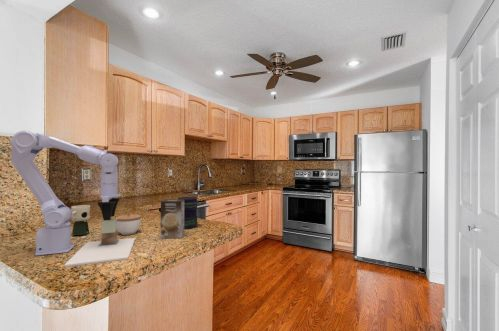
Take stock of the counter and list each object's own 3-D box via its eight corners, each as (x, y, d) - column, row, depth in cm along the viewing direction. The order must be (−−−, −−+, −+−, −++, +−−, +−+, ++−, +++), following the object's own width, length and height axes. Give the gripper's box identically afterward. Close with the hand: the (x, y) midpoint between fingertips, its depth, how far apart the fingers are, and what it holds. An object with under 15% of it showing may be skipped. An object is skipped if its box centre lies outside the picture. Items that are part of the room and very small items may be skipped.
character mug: (79, 238, 102) (79, 208, 102) (63, 238, 102) (63, 208, 102) (96, 231, 113) (96, 204, 113) (81, 231, 113) (81, 204, 113)
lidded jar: (131, 229, 117) (131, 210, 117) (146, 231, 112) (146, 212, 112) (109, 234, 108) (109, 214, 108) (125, 237, 103) (125, 216, 103)
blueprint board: (63, 267, 72) (63, 264, 72) (86, 243, 94) (86, 242, 94) (128, 259, 78) (128, 257, 78) (135, 239, 101) (135, 237, 101)
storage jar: (200, 227, 119) (199, 198, 120) (180, 230, 115) (180, 199, 115) (194, 223, 128) (194, 196, 128) (175, 226, 123) (175, 197, 123)
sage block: (101, 233, 90) (101, 221, 90) (104, 230, 95) (104, 219, 95) (114, 232, 92) (114, 220, 92) (116, 229, 96) (116, 218, 96)
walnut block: (101, 245, 90) (101, 233, 90) (104, 242, 95) (104, 230, 95) (114, 244, 92) (114, 232, 92) (116, 240, 96) (116, 229, 96)
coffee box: (159, 238, 101) (159, 201, 101) (164, 234, 107) (164, 199, 108) (181, 238, 101) (181, 200, 102) (184, 234, 108) (184, 199, 108)
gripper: (117, 184, 88) (117, 221, 88) (123, 182, 102) (123, 214, 102) (95, 185, 86) (95, 222, 86) (104, 182, 99) (104, 215, 99)
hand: (109, 218), depth 93 cm, fingers open, 7 cm apart
